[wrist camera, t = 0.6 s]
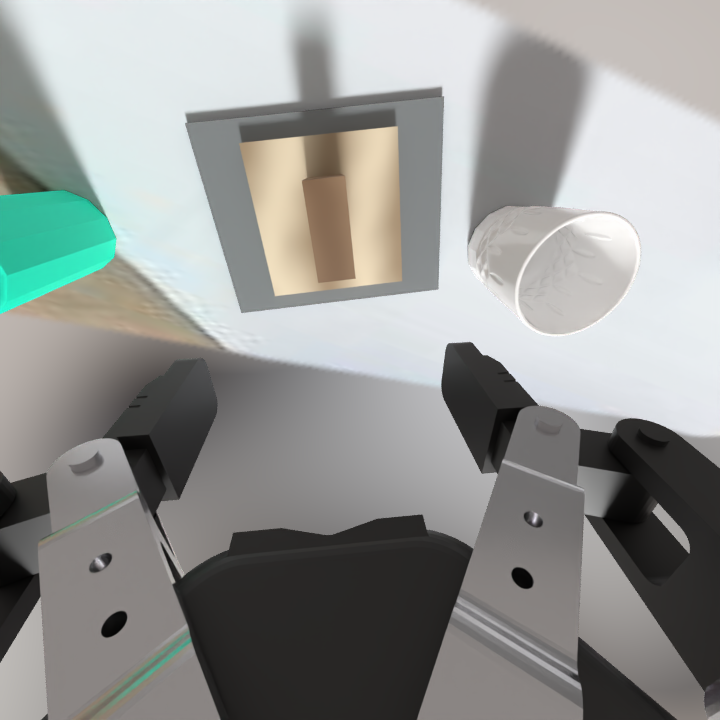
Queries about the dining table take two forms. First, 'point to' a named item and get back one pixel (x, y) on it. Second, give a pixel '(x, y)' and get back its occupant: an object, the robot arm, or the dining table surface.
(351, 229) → the lid
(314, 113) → the mat
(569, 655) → the robot arm
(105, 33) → the dining table surface
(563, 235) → the white cup
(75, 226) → the candle
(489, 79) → the dining table surface
